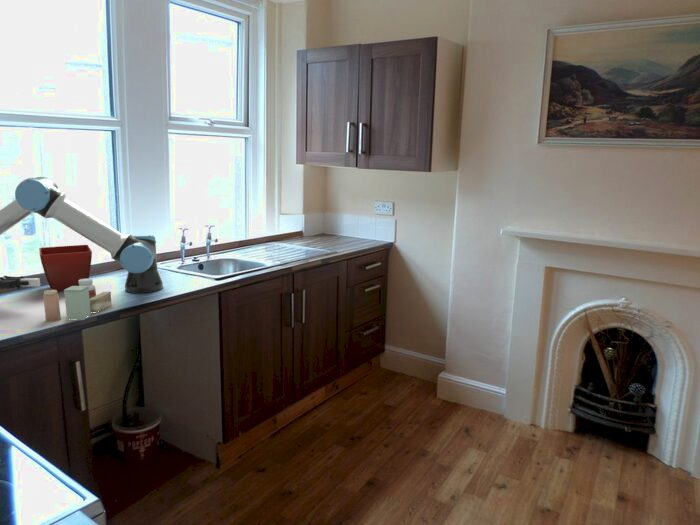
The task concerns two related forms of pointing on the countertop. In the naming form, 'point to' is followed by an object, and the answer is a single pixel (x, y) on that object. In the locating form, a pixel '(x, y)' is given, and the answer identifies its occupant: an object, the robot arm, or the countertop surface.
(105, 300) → the block
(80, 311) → the tea tin
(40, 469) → the countertop surface
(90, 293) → the pill bottle
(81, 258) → the plant pot
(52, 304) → the spice jar
